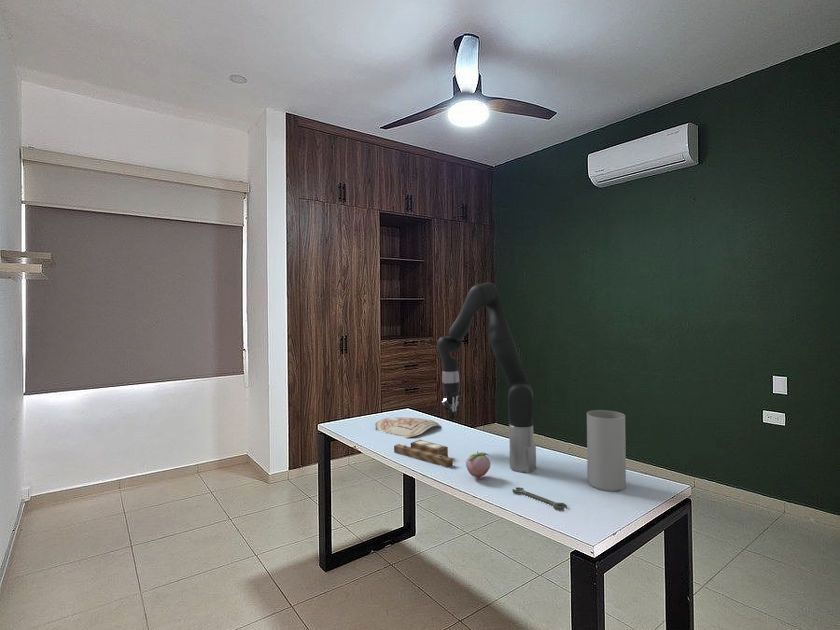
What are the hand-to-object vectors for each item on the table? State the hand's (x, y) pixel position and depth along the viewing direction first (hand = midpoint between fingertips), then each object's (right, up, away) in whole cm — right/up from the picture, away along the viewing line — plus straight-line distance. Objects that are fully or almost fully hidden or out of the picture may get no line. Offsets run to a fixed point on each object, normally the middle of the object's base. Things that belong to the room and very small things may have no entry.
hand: (452, 419), depth 199 cm
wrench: (+24, -15, -52) cm, 59 cm away
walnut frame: (-11, -14, -7) cm, 19 cm away
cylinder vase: (+51, -14, -41) cm, 67 cm away
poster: (-21, -14, +37) cm, 45 cm away
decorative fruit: (+7, -14, -32) cm, 36 cm away
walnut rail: (-14, -14, -10) cm, 22 cm away
